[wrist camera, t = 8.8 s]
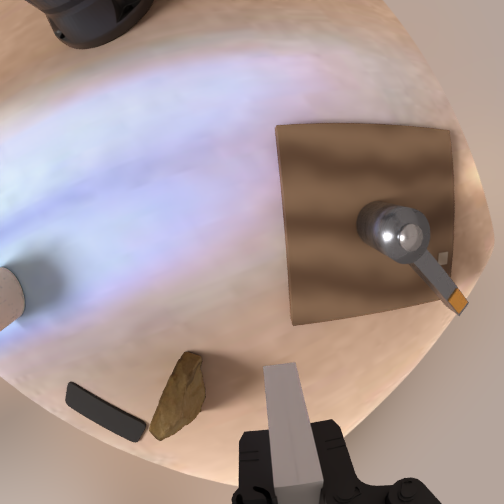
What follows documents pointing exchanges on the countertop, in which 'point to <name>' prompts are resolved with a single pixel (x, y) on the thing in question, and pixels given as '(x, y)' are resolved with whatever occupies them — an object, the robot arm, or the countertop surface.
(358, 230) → the grey mallet
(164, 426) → the rock
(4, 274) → the cream lidded jar
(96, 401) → the phone
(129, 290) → the countertop surface
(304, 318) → the base board
